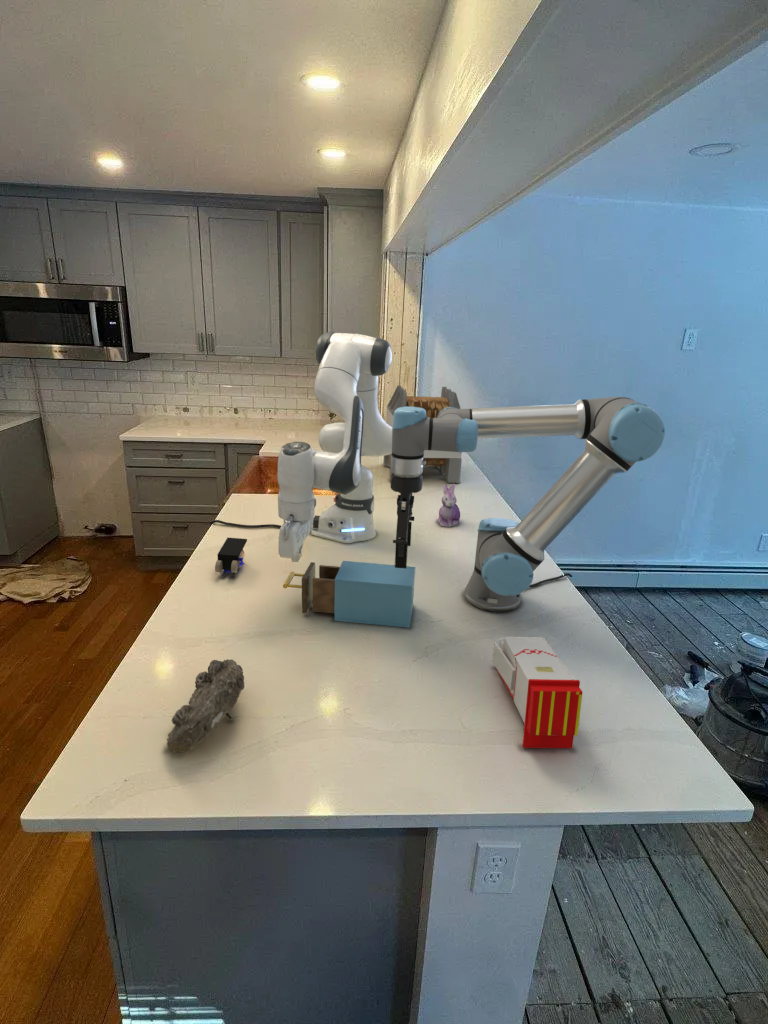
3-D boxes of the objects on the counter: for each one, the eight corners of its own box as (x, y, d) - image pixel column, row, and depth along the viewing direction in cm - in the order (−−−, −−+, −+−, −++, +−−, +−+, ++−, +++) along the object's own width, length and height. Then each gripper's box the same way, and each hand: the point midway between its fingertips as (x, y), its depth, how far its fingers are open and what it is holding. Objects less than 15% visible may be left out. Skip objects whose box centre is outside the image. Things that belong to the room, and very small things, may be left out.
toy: (540, 620, 128) (592, 687, 99) (535, 674, 131) (584, 755, 102) (487, 619, 128) (523, 686, 99) (483, 673, 131) (517, 754, 101)
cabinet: (334, 620, 143) (334, 579, 139) (342, 599, 153) (342, 560, 149) (409, 628, 141) (412, 586, 137) (412, 606, 152) (415, 566, 148)
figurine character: (238, 584, 162) (249, 557, 175) (236, 562, 158) (247, 536, 172) (215, 584, 161) (227, 556, 175) (212, 561, 158) (225, 535, 171)
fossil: (192, 660, 117) (244, 628, 112) (224, 691, 120) (276, 661, 115) (142, 746, 98) (202, 712, 93) (182, 779, 101) (242, 748, 96)
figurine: (445, 529, 206) (449, 489, 200) (430, 519, 214) (433, 481, 209) (467, 525, 210) (470, 487, 205) (451, 516, 218) (454, 479, 213)
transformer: (382, 463, 289) (386, 382, 275) (445, 464, 293) (451, 384, 279) (390, 482, 257) (394, 392, 243) (460, 483, 261) (468, 394, 247)
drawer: (281, 611, 145) (281, 576, 141) (292, 593, 154) (291, 560, 150) (371, 619, 142) (373, 584, 139) (376, 601, 152) (378, 567, 148)
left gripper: (297, 524, 130) (298, 578, 135) (317, 497, 149) (317, 545, 154) (271, 522, 131) (272, 576, 135) (294, 495, 150) (295, 543, 154)
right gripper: (419, 490, 122) (414, 579, 129) (425, 461, 145) (420, 538, 152) (385, 488, 122) (382, 576, 130) (396, 459, 146) (393, 536, 153)
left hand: (296, 559), depth 145 cm, fingers closed
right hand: (403, 556), depth 141 cm, fingers open, 13 cm apart
